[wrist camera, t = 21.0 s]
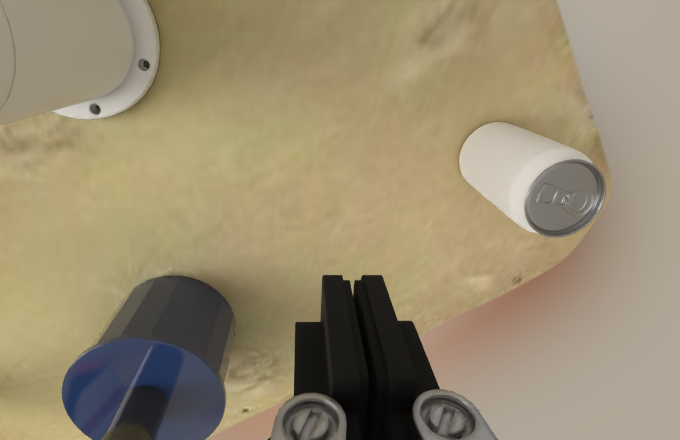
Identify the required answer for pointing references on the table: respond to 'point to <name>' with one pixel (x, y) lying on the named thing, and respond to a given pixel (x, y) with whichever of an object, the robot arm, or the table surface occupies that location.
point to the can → (533, 179)
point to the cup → (177, 317)
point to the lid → (143, 391)
